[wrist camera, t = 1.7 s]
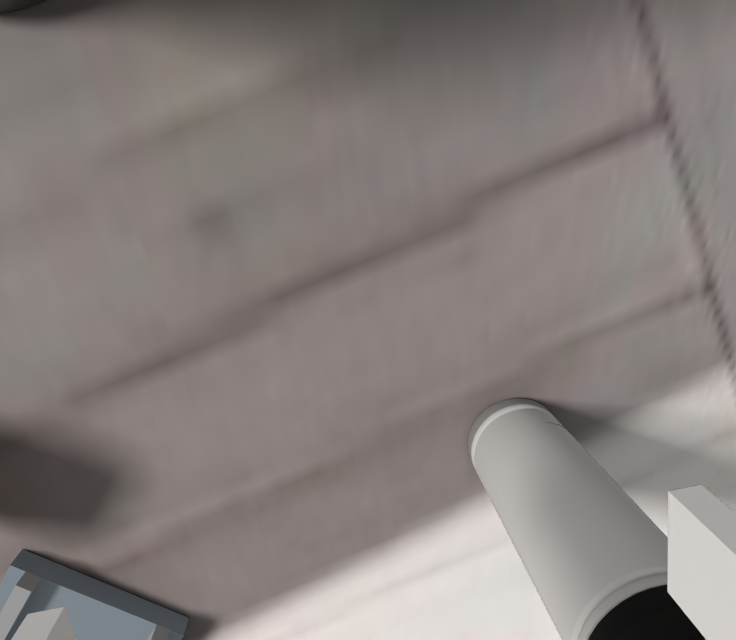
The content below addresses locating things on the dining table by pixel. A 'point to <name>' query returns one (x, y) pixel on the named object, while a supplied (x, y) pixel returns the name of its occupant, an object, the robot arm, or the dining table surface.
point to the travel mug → (575, 529)
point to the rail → (81, 604)
